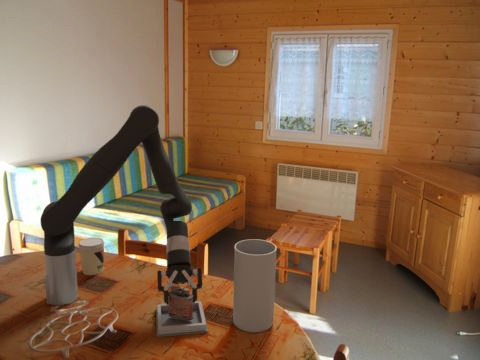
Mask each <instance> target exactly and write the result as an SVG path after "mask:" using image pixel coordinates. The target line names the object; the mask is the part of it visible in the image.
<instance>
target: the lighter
mask: <svg viewBox="0 0 480 360" xmlns="http://www.w3.org/2000/svg"><path fill="white" fill-rule="evenodd" d="M169 290H170V291H168V292H169V316H170V317H173V318H176V319H180V320H187V321H190V320H192V319H193V295H192V293H190V288H187V287H185V286H184V285H180V286H178V285H175V284H174V285H173V284H172V286H171V287H170V289H169Z"/></svg>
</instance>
